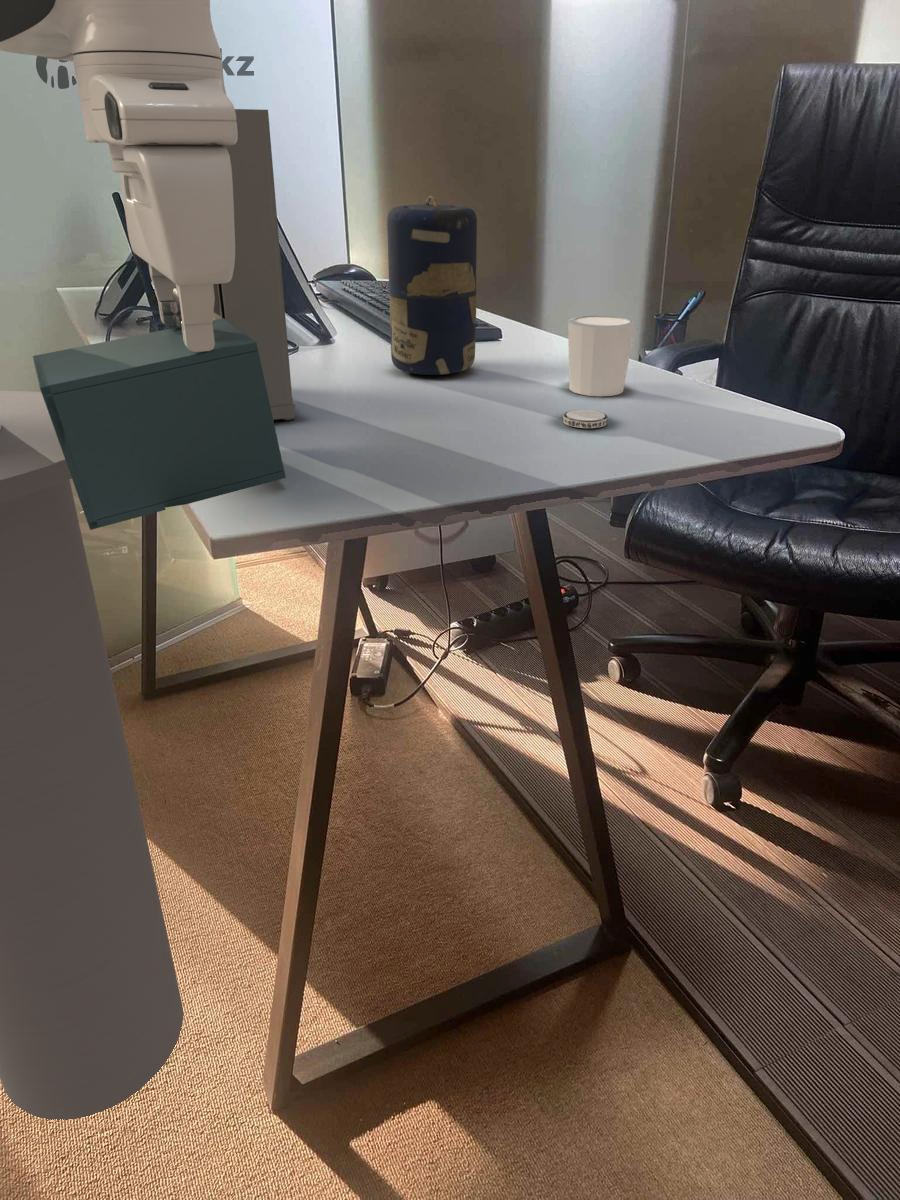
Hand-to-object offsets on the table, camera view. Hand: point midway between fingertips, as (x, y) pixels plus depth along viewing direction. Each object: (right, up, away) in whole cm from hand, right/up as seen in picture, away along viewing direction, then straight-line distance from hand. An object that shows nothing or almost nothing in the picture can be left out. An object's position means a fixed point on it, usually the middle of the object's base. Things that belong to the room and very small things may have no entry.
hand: (186, 337), depth 61 cm
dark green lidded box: (-2, -10, +4) cm, 11 cm away
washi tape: (+31, -2, +18) cm, 36 cm away
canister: (+17, +7, +37) cm, 41 cm away
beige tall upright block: (-1, 0, +23) cm, 23 cm away
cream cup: (+34, +3, +29) cm, 45 cm away
